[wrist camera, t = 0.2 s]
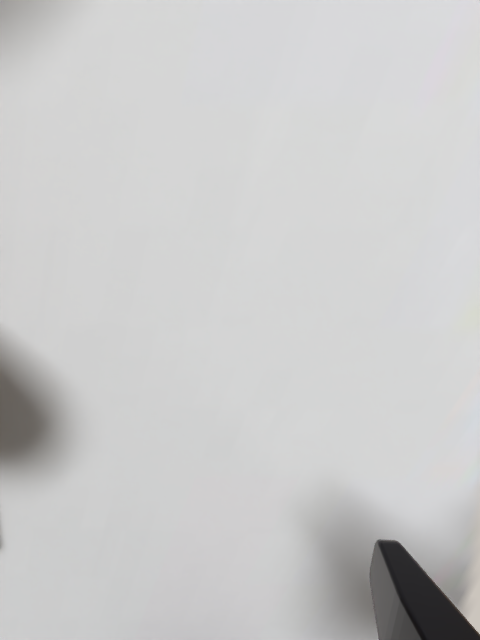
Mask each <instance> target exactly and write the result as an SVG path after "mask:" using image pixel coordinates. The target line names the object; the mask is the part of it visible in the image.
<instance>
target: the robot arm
mask: <svg viewBox="0 0 480 640" xmlns="http://www.w3.org/2000/svg"><path fill="white" fill-rule="evenodd" d="M370 584H371V591H372V597H373V604H374V610H375V617H376V623H377V630H378V636H379V640H480V634H479V633H478V632H477V631H476V630H475V629H474V627H473V626H472V625H471V624H470V623H469V622H468V621H467V619H466V618H465V617H464V616H463V615H462V614H461V612H460V611H459V610H458V609H457V608H456V607H455V606H454V604H453V603H452V602H451V601H450V600H449V599H448V598H447V596H446V595H445V594H444V593H443V592H442V591H441V590H440V588H439V587H438V586H437V585H436V584H435V583H434V582H433V580H432V579H431V578H430V577H429V576H428V575H427V573H426V572H425V571H424V570H423V569H422V568H421V567H420V565H419V564H418V563H417V562H416V561H415V560H414V559H413V557H412V556H411V555H410V554H409V553H408V552H407V551H406V549H405V548H404V547H403V546H402V545H401V544H400V543H399V542H398V541H395V540H377V541H376V543H375V545H374V550H373V556H372V561H371V566H370Z"/></svg>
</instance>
